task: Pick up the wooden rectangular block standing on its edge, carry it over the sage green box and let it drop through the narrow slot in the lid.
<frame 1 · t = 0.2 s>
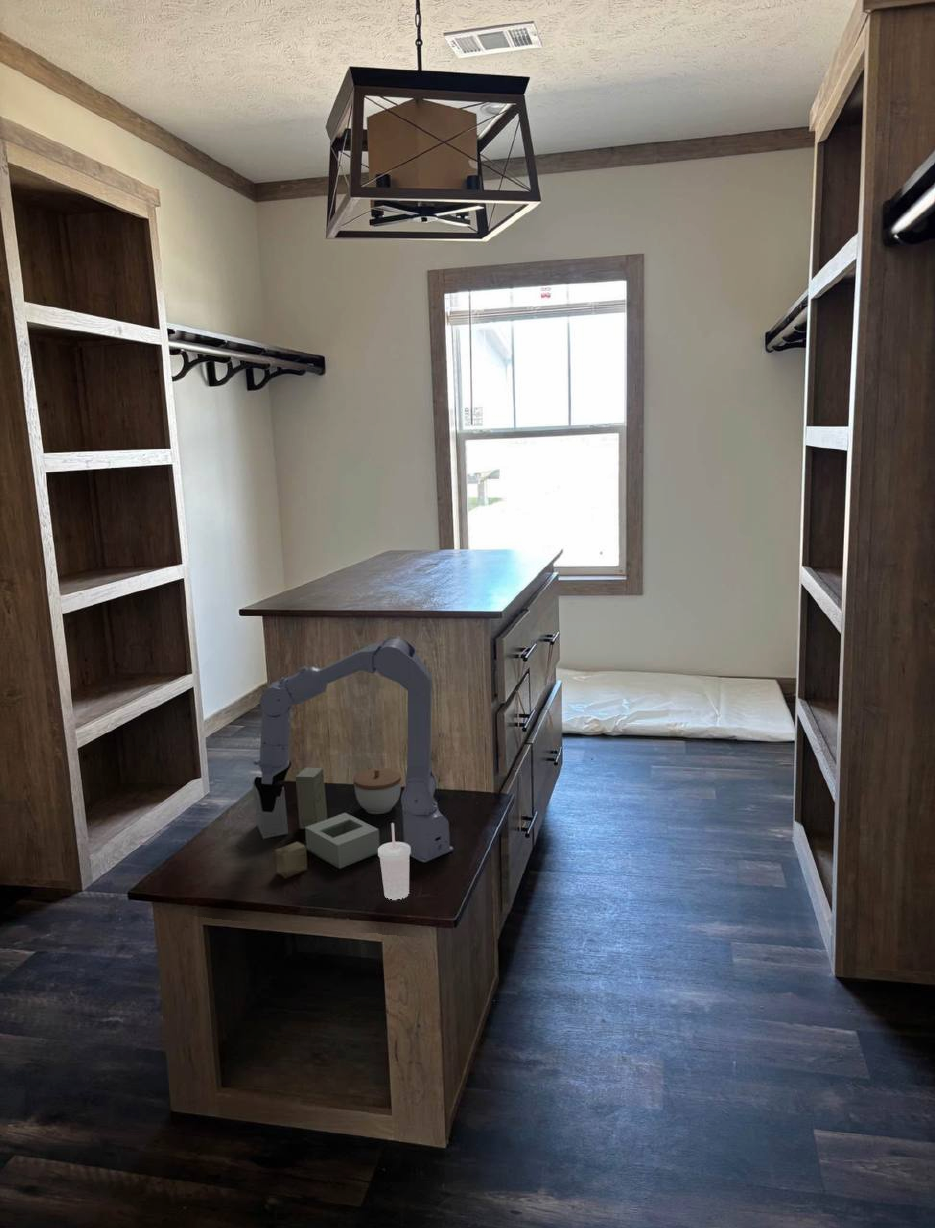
hand: (271, 803, 185), 10 cm above the table, tool pointing down, fingers open, 7 cm apart
skincare box: (313, 824, 199), on the table
small box: (272, 830, 196), on the table
wooden rectangular block: (292, 871, 177), on the table
lidded jar: (379, 809, 205), on the table
beverage cup: (396, 894, 167), on the table
slot box: (343, 851, 185), on the table
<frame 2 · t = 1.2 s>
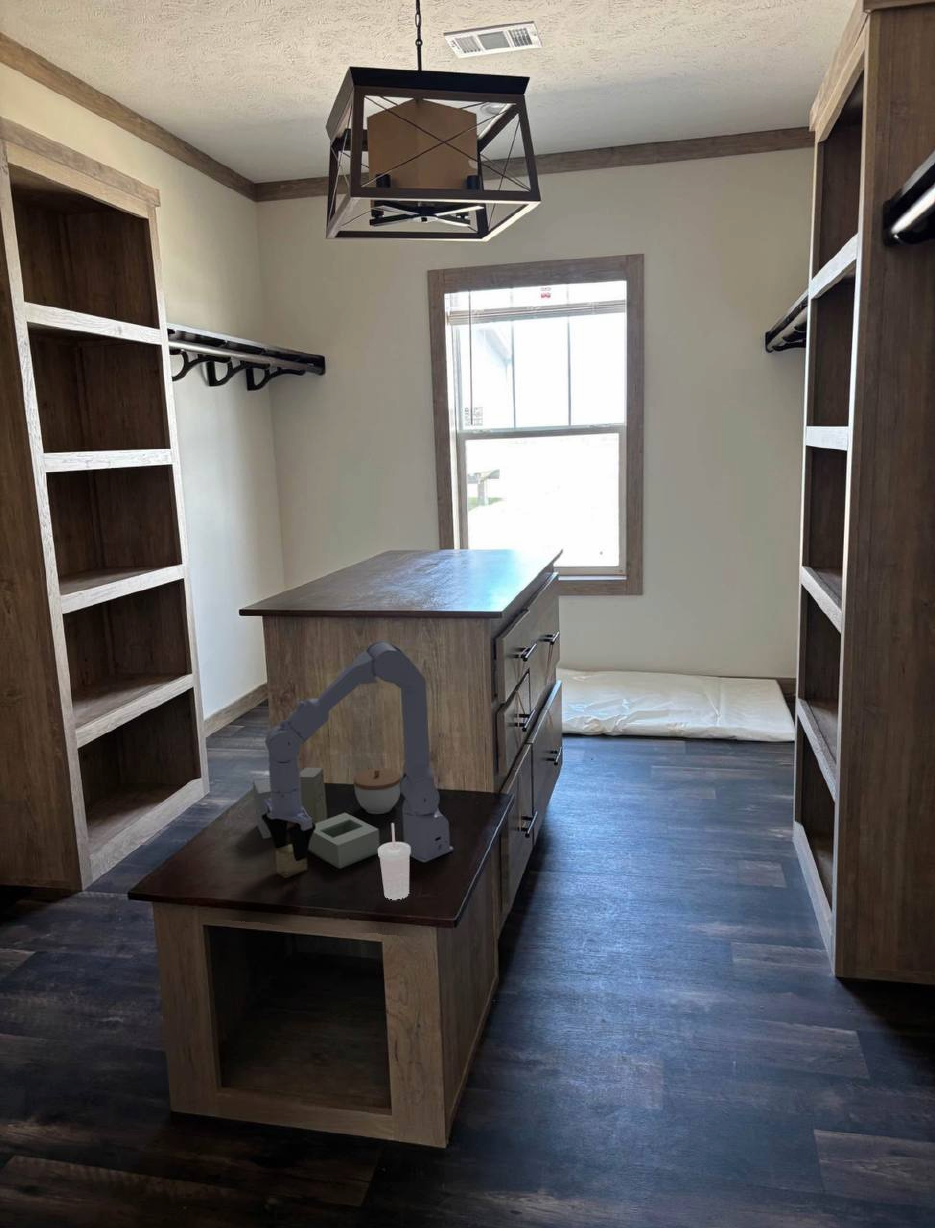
hand: (290, 852, 176), 4 cm above the table, tool pointing down, fingers open, 7 cm apart
nothing on the table moved.
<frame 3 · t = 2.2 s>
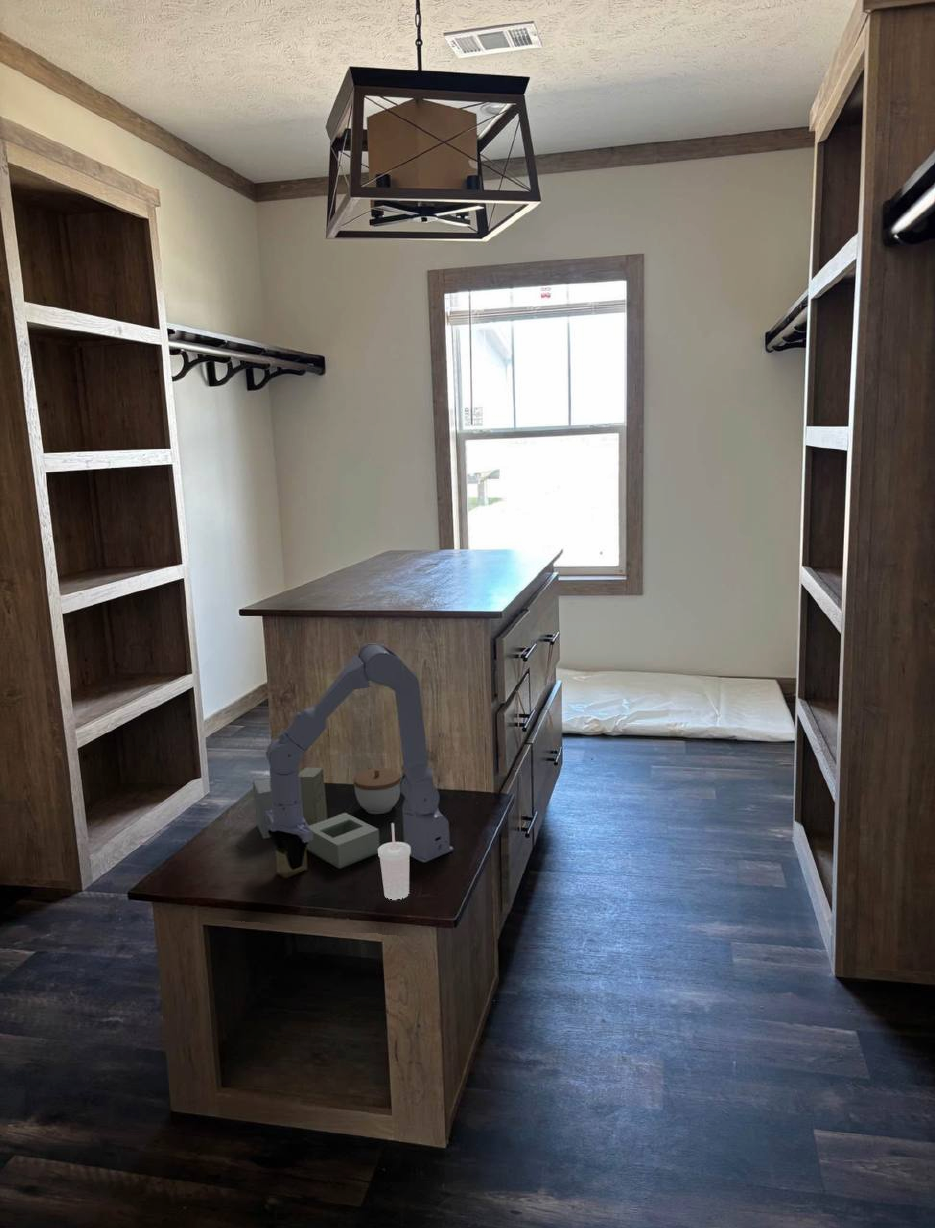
hand: (291, 864, 177), 1 cm above the table, tool pointing down, fingers closed on wooden rectangular block, 3 cm apart
wooden rectangular block: (292, 871, 177), on the table, touching gripper
everything else where it was.
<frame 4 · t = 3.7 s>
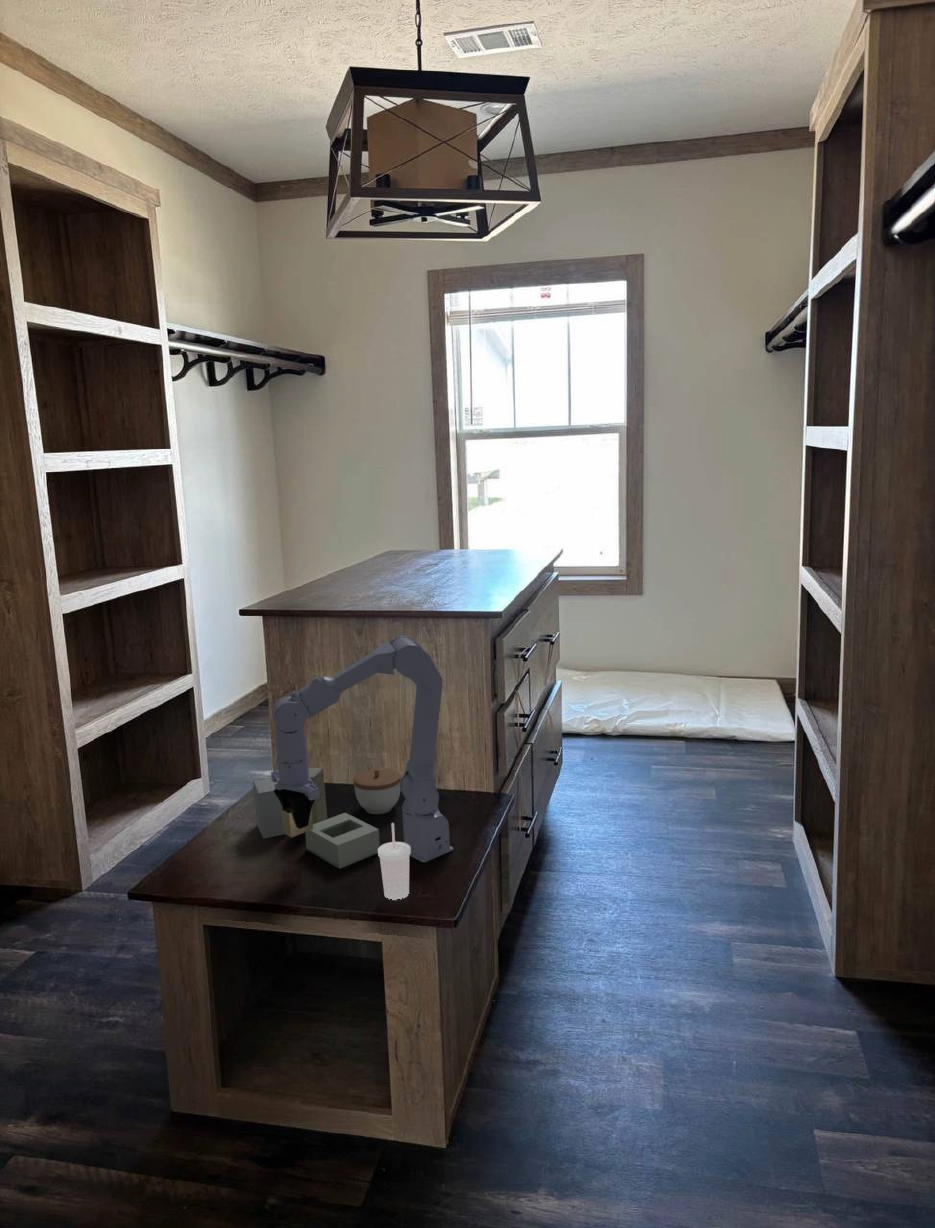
hand: (298, 824, 177), 9 cm above the table, tool pointing down, fingers closed on wooden rectangular block, 3 cm apart
wooden rectangular block: (298, 831, 177), point 8 cm above the table, touching gripper
everything else where it was.
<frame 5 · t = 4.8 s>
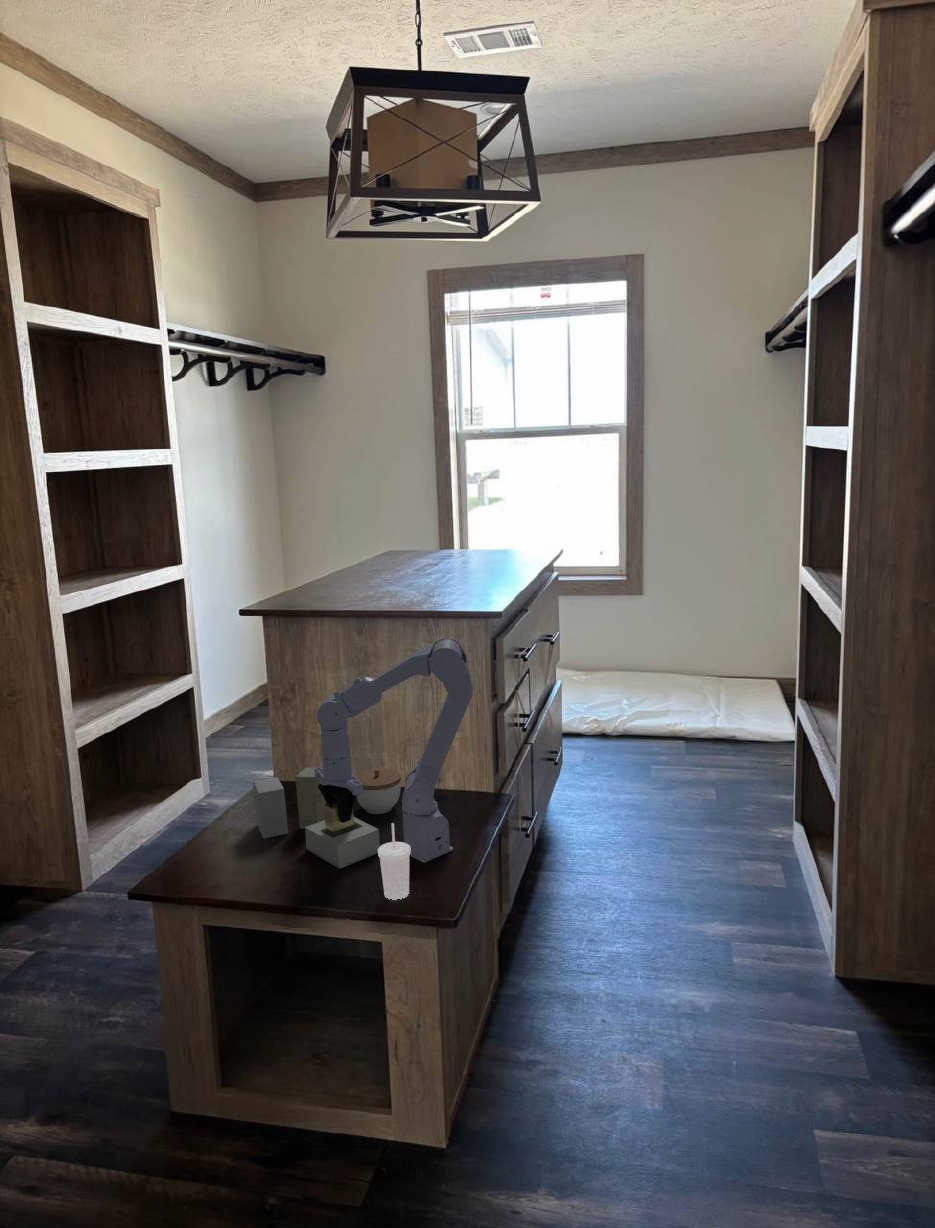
hand: (340, 818, 184), 7 cm above the table, tool pointing down, fingers closed on wooden rectangular block, 3 cm apart
wooden rectangular block: (339, 826, 184), point 6 cm above the table, touching gripper
everything else where it was.
when the fingers open (6 cm above the table, at t = 5.3 s): wooden rectangular block drops 4 cm, resting on slot box.
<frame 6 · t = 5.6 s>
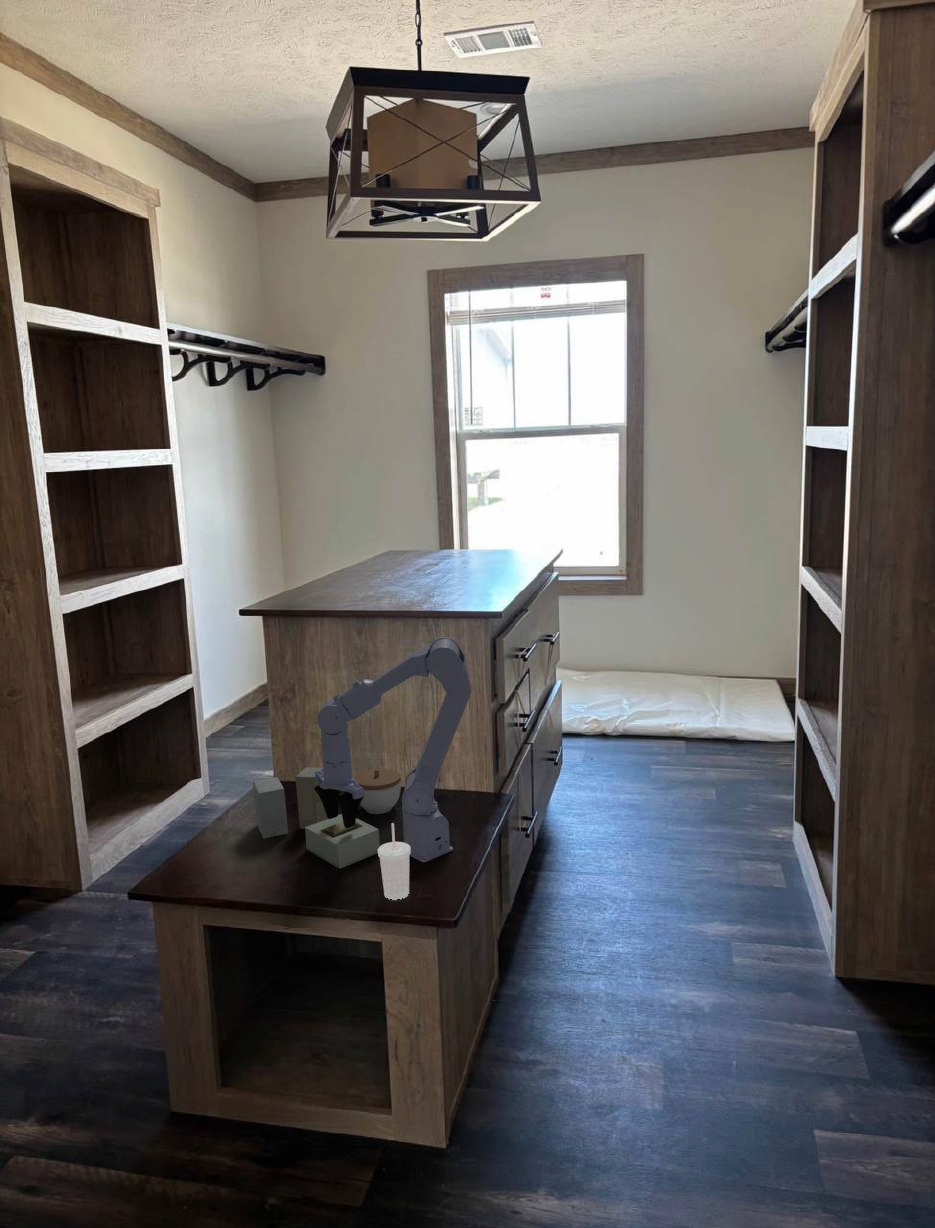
hand: (341, 822, 184), 6 cm above the table, tool pointing down, fingers open, 6 cm apart
wooden rectangular block: (341, 849, 185), resting on slot box
everything else where it was.
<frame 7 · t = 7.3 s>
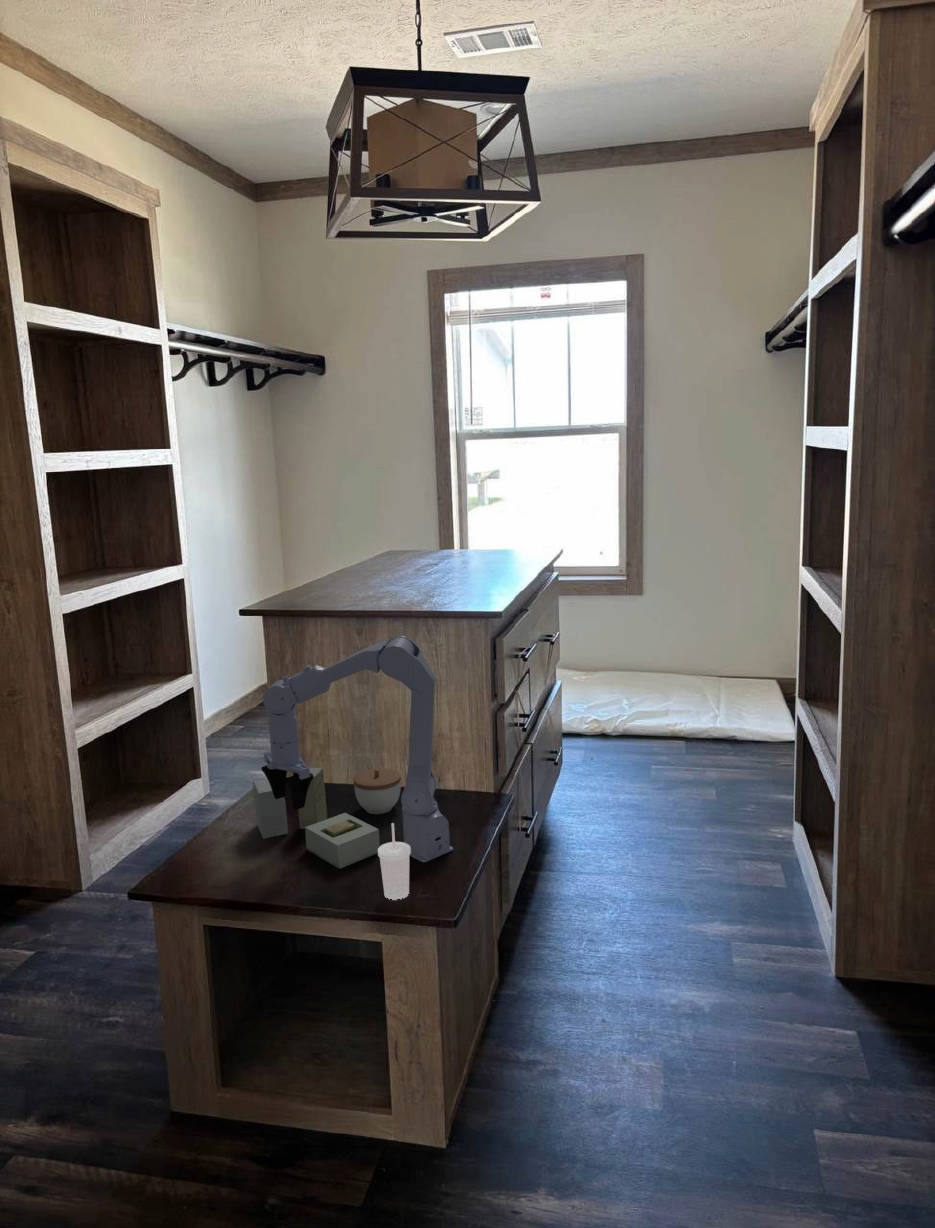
hand: (289, 802, 184), 10 cm above the table, tool pointing down, fingers open, 7 cm apart
nothing on the table moved.
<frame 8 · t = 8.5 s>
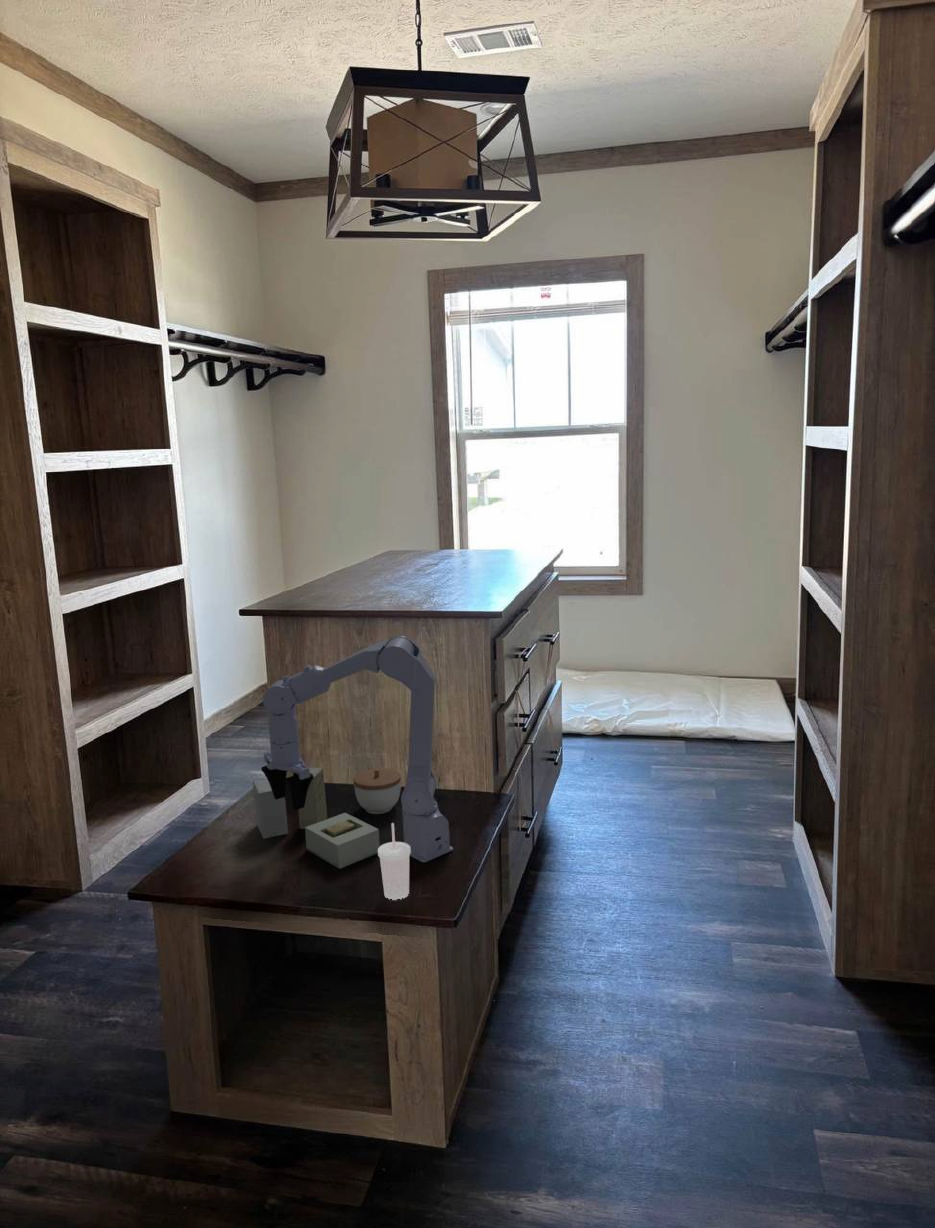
hand: (289, 803, 184), 10 cm above the table, tool pointing down, fingers open, 7 cm apart
nothing on the table moved.
at the end: wooden rectangular block inside the target area on the slot box (0.3 cm from its centre), point 0.5 cm above the slot box's base; the gripper is holding nothing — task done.
